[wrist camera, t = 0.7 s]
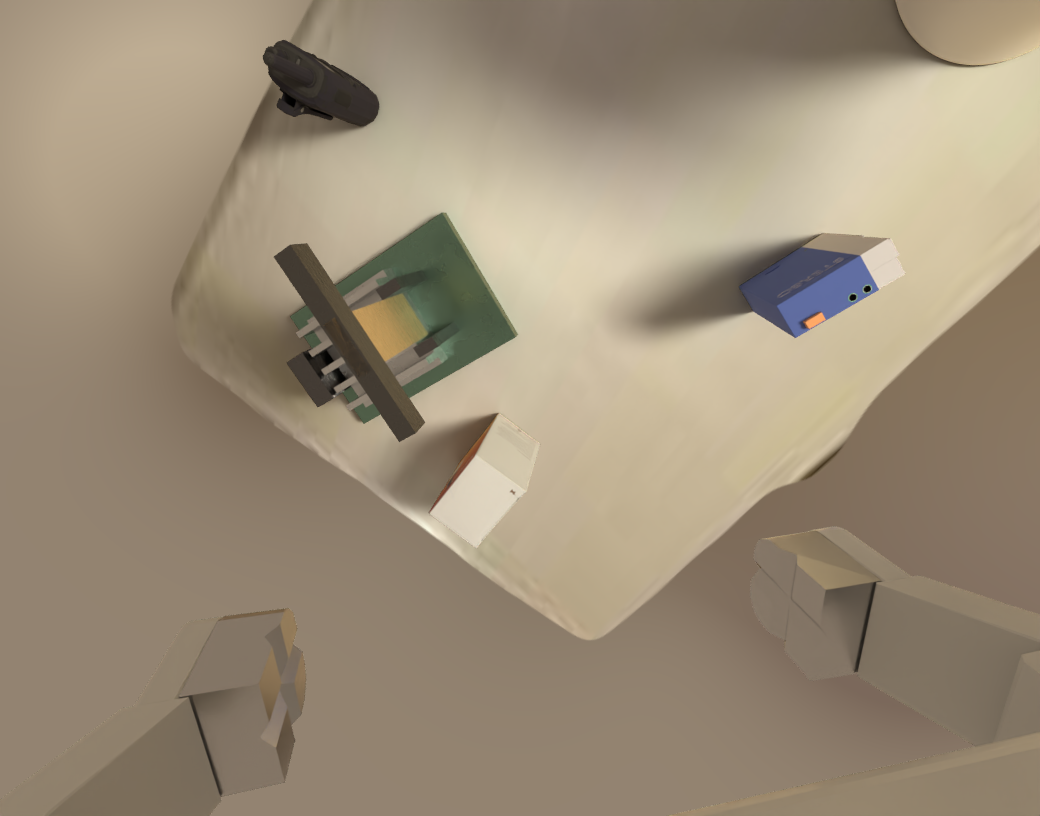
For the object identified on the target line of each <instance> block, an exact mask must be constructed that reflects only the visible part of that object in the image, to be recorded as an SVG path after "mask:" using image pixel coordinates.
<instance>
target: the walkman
mask: <svg viewBox="0 0 1040 816" xmlns="http://www.w3.org/2000/svg"><path fill="white" fill-rule="evenodd" d="M897 256H899V253H898V251H897V249H896V247H895V245H894V244H893V242H892V240H891V239H890V238H875V237H864V236H862V235H846V234H830V233H823V234H821V235H819V236H818V237H816V238H815V239H813V240H811V241H810V242H808V243H807V244H805V245H803V246H802V247H800V248H799V249H797V250H796V251H794V252H793V253H791V254H789V255H788V256H786V257H785V258H783V259H781V260H780V261H778V262H777V263H775V264H774V265H772V266H770V267H769V268H767V269H766V270H764V271H762V272H761V273H759V274H758V275H756V276H755V277H753V278H751V279H750V280H748V281H747V282H745V283H743V284H742V285H740V286H739V288H740V290H741V292H742V293H743V295H744V297H745V298H746V300H747V301H748V303H749V305H750V306H751V308H752V310H753V311H754V312H755V313H757V314H758V315H760V316H762V317H763V318H765V319H766V320H768V321H769V322H771V323H773V324H774V325H776V326H777V327H779V328H780V329H782V330H784V331H785V332H787V333H788V334H790V335H792V336H793V337H795V338H796V337H798V336H800V335H801V334H803V333H805V332H807V331H808V330H810V329H812V328H814V327H815V326H817V325H819V324H821V323H822V322H824V321H826V320H827V319H829V318H831V317H833V316H834V315H836V314H838V313H840V312H841V311H843V310H845V309H847V308H848V307H850V306H852V305H853V304H855V303H857V302H859V301H860V300H862V299H864V298H866V297H867V296H869V295H871V294H872V293H874V292H876V291H878V290H879V289H880V288H882V287H884V286H885V285H887V284H889V283H891V282H892V281H894V280H896V279H898V278H899V277H901V276H903V275H904V274H906V273H905V271H904V270H903V268H902V266H901V264H900V262H899V260H898V259H897Z"/></svg>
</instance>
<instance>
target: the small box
mask: <svg viewBox="0 0 1040 816" xmlns="http://www.w3.org/2000/svg"><path fill="white" fill-rule="evenodd" d="M539 448H540V443H538V442H537V441H536V440H534V439H533V438H532V437H530V436H529V435H528V434H526V433H525V432H524V431H522V430H521V429H520V428H519V427H517V426H516V425H515V424H513V423H512V422H511V421H509V420H508V419H507V418H505V417H504V416H503V415H501V414H500V413H498V414H497V415H496V417H495V418H494V419H493V421H492V422H491V424H490V425H489V426H488V428H487V429H486V430H485V431H484V433H483V434H482V435H481V436H480V438H479V439H478V440H477V441H476V443H475V444H474V445H473V446H472V448H471V449H470V450H469V451H468V453H467V454H466V455H465V456H464V458H463V459H462V460H461V461H460V463H459V464H458V466H457V468H456V470H455V471H454V473H453V474H452V476H451V477H450V479H449V481H448V482H447V484H446V486H445V487H444V489H443V490H442V492H441V494H440V495H439V497H438V498H437V500H436V502H435V503H434V505H433V506H432V508H431V510H430V511H429V514H430V515H431V516H433V517H434V518H435V519H437V520H438V521H439V522H441V523H442V524H443V525H445V526H446V527H447V528H449V529H450V530H452V531H453V532H454V533H456V534H457V535H458V536H460V537H461V538H462V539H464V540H465V541H467V542H468V543H469V544H471V545H472V546H473V547H474V548H477V547H478V546H479V545H480V544H481V542H482V541H483V540H484V538H485V537H486V536H487V535H488V534H489V532H490V531H491V530H492V529H493V528H494V527H495V526H496V524H497V523H498V522H499V521H500V520H501V519H502V518H503V516H504V515H505V514H506V513H507V512H508V511H509V510H510V509H511V507H512V506H513V505H514V504H515V503H516V502H517V501H518V500H519V499H520V498H521V497H522V496H523V495H524V494H525V493H526V491H527V488H528V484H529V481H530V478H531V475H532V471H533V468H534V465H535V461H536V458H537V455H538V451H539Z"/></svg>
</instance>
